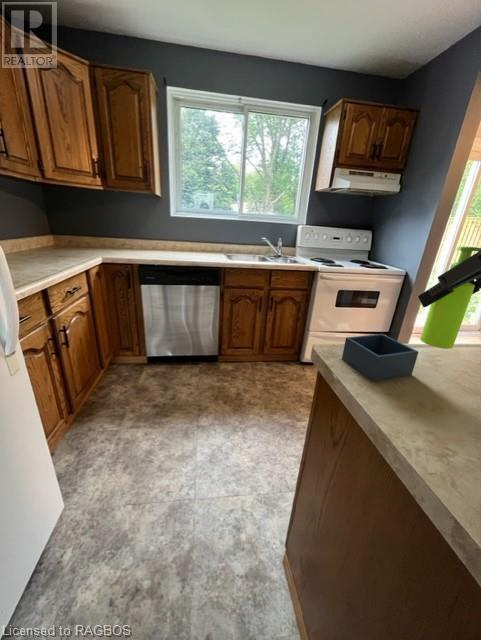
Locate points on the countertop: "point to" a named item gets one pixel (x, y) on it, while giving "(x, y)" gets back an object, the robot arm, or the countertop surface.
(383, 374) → the box
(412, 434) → the countertop surface
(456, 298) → the soap dispenser
